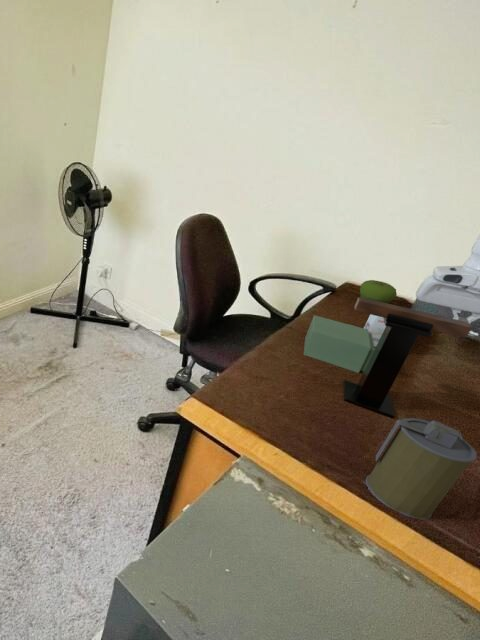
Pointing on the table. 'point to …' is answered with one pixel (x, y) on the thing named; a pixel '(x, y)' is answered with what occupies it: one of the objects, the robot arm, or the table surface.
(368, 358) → the drawer
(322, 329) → the cabinet
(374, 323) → the ink box
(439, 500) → the canister
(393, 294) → the apple
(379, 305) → the rod
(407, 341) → the stand
